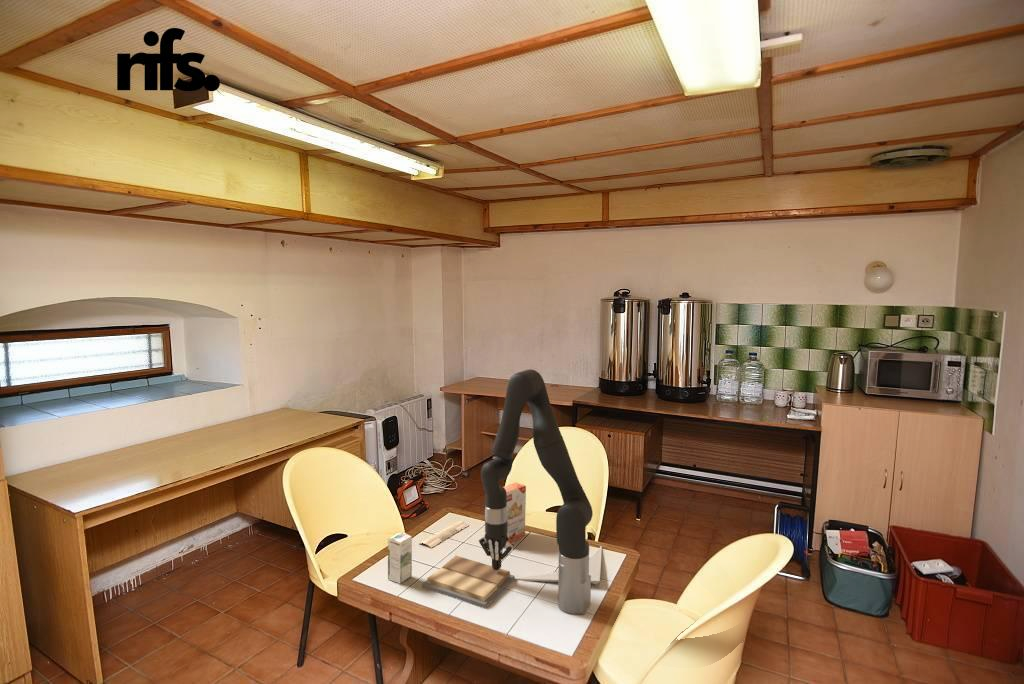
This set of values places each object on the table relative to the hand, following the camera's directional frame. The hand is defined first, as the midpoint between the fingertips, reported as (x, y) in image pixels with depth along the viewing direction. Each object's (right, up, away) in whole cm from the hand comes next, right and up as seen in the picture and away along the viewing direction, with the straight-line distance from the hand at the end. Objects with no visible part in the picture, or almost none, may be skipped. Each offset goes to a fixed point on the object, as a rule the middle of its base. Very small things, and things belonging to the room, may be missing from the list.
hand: (496, 568), depth 172 cm
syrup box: (-33, -4, +2) cm, 33 cm away
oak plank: (-11, -3, -5) cm, 13 cm away
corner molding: (+22, -4, +13) cm, 26 cm away
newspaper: (-21, -2, +34) cm, 40 cm away
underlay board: (-9, -4, -1) cm, 10 cm away
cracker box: (+4, -2, +31) cm, 31 cm away
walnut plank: (-7, -2, +2) cm, 8 cm away
